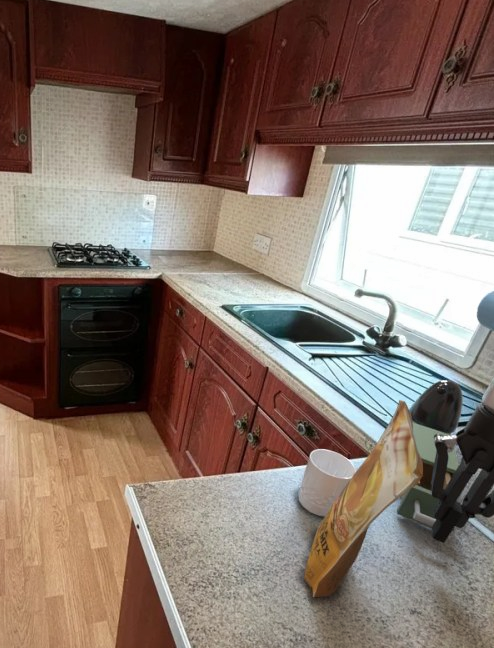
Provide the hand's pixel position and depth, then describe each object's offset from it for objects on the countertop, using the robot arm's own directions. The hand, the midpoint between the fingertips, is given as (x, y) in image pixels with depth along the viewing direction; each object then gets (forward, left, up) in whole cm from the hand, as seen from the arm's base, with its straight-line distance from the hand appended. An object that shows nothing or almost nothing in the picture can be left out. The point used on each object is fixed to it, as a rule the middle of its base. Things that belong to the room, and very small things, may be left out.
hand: (437, 535), depth 65 cm
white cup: (+17, -3, -7) cm, 19 cm away
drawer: (0, -13, -6) cm, 15 cm away
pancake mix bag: (+13, +10, -7) cm, 18 cm away
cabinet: (0, -26, -7) cm, 27 cm away
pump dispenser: (-3, -48, -7) cm, 49 cm away
